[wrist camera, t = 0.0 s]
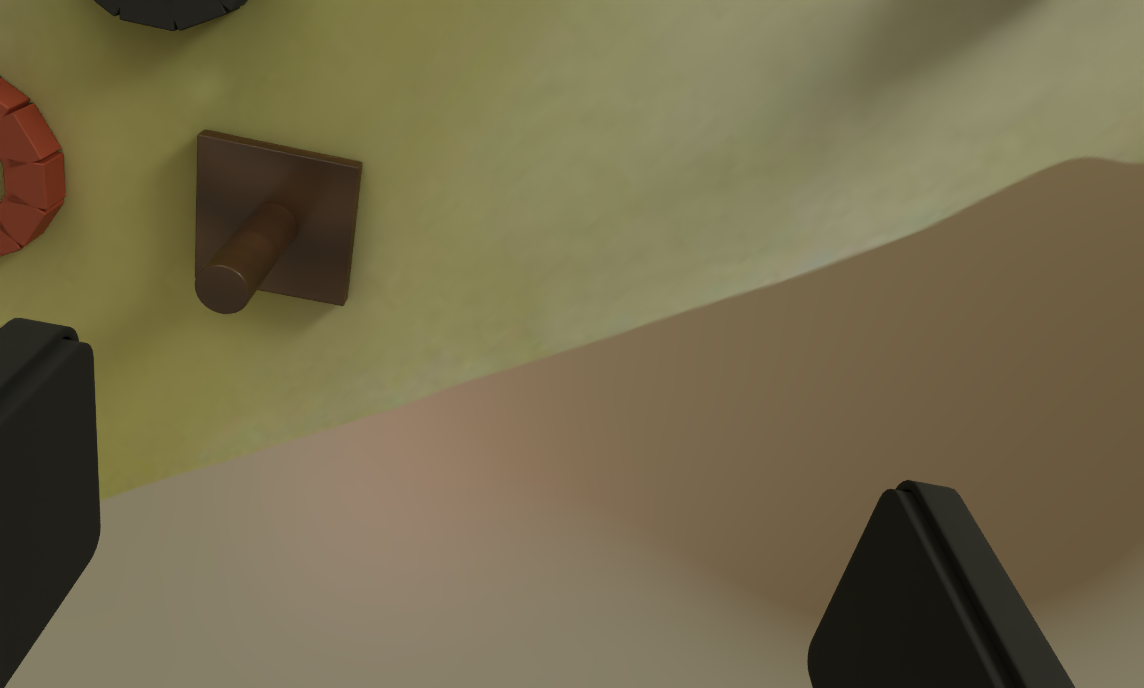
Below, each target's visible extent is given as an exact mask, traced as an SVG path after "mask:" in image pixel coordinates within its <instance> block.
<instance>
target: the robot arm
mask: <svg viewBox="0 0 1144 688" xmlns="http://www.w3.org/2000/svg"><path fill="white" fill-rule="evenodd" d="M99 536H100V502H99V478H98V454H97V429H96V405H95V381H94V357H93V350H92V348H91V346H90V345H89V344H87V343H83V342H79V339H78V335H77V333H76V331H75V330H74V329H73V328H71V327H67V326H62V325H56V324H51V323H45V322H40V321H35V320H29V319H24V318H14V319H12V320H10V321H9V322H7V323H6V324H5V325H4V326H2V327H1V328H0V688H4V687H5V686H6V684H7V683H8V681H9V680H10V678H11V677H12V675H13V674H14V672H15V671H16V669H17V668H18V666H19V665H20V664H21V662H22V661H23V659H24V658H25V656H26V655H27V653H28V652H29V650H30V649H31V647H32V646H33V644H34V643H35V641H36V640H37V639H38V637H39V635H40V634H41V632H42V631H43V630H44V628H45V627H46V625H47V624H48V622H49V621H50V619H51V618H52V616H53V615H54V613H55V612H56V610H57V609H58V608H59V606H60V605H61V603H62V602H63V600H64V599H65V597H66V596H67V594H68V593H69V591H70V590H71V588H72V587H73V585H74V584H75V583H76V581H77V580H78V578H79V577H80V575H81V573H82V572H83V571H84V569H85V568H86V566H87V565H88V563H89V562H90V560H91V558H92V557H93V555H94V552H95V550H96V548H97V544H98V541H99ZM808 671H809V676H810V679H811V683H812V686H813V688H1075V686H1074V685H1073V683H1072V681H1071V680H1070V678H1069V676H1068V675H1067V673H1066V671H1065V670H1064V668H1063V666H1062V665H1061V663H1060V661H1059V660H1058V658H1057V656H1056V655H1055V653H1054V651H1053V650H1052V648H1051V646H1050V645H1049V643H1048V641H1047V640H1046V638H1045V636H1044V635H1043V633H1042V631H1041V630H1040V628H1039V627H1038V625H1037V623H1036V621H1035V620H1034V618H1033V617H1032V615H1031V613H1030V611H1029V610H1028V608H1027V606H1026V605H1025V603H1024V602H1023V600H1022V598H1021V596H1020V595H1019V593H1018V591H1017V590H1016V588H1015V587H1014V585H1013V583H1012V581H1011V580H1010V578H1009V577H1008V575H1007V573H1006V572H1005V570H1004V568H1003V567H1002V565H1001V563H1000V562H999V560H998V558H997V557H996V555H995V553H994V552H993V550H992V548H991V547H990V545H989V543H988V542H987V540H986V539H985V537H984V535H983V534H982V532H981V530H980V528H979V527H978V525H977V523H976V522H975V520H974V518H973V517H972V515H971V513H970V512H969V510H968V508H967V507H966V505H965V504H964V502H963V500H962V498H961V497H960V495H959V494H958V493H957V492H956V491H955V490H954V489H951V488H949V487H944V486H938V485H932V484H927V483H922V482H916V481H910V480H907V481H903V482H902V483H900V484H899V485H898V486H897V488H896V489H895V490H894V489H888V490H886V491H885V492H884V493H883V494H882V496H881V497H880V499H879V501H878V503H877V505H876V507H875V509H874V511H873V513H872V516H871V517H870V520H869V522H868V524H867V526H866V528H865V530H864V532H863V534H862V536H861V538H860V540H859V543H858V545H857V547H856V549H855V551H854V553H853V555H852V557H851V559H850V562H849V564H848V566H847V568H846V570H845V572H844V574H843V576H842V578H841V580H840V582H839V585H838V586H837V588H836V591H835V593H834V595H833V597H832V599H831V601H830V603H829V605H828V607H827V609H826V611H825V614H824V616H823V618H822V620H821V622H820V624H819V626H818V628H817V630H816V633H815V635H814V636H813V639H812V641H811V644H810V646H809V651H808Z"/></svg>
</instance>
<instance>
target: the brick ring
mask: <svg viewBox="0 0 1144 688" xmlns="http://www.w3.org/2000/svg"><path fill="white" fill-rule="evenodd" d="M29 100H30V99H29V98H28V97H27V96H26V95H24V94H23V93H22V92H20V91H19V90H17V89H16V88H15V87H13V86H12V85H11V84H9V83H8V82H6V81H5V80H4V79H2V78H1V77H0V160H1V162H2V163H3V171H4V183H5V196H4V198H3V199H2V201H1V202H0V256H2V255H6V254H9V253H12V252H15V251H18V250H21V249H22V248H23V247H25V246H26V245H27V244H29V243H30V242H32V241H33V240H34V239H36V238H37V237H39V236H40V235H41V234H42V233H44V231H45V230H46V228H47V227H48V225H49V224H50V222H51V221H52V219H53V218H54V216H55V215H56V213H57V212H58V210H59V209H60V207H61V206H62V204H63V203H64V201H63V200H62V199H63V198H65V177H64V159H63V153H60V152H56V151H58V150H60V149H61V147H60V145H59V143H58V142H57V140H56V138H55V137H54V135H53V133H52V132H51V130H50V128H49V127H48V125H47V123H46V122H45V120H44V118H43V117H42V115H41V113H40V112H39V110H38V108H37V107H36V105H35V104H33V103H32V104H29V105H27V103H28V102H29ZM26 105H27V106H26Z"/></svg>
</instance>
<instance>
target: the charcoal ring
mask: <svg viewBox="0 0 1144 688" xmlns="http://www.w3.org/2000/svg"><path fill="white" fill-rule="evenodd" d="M94 1H95V2H96V3H98V4H99V5H100V6H101V7H103V8H104V9H105V10H107V11H108V12H109V13H110V14H112V15H113V16H117V15H120V19H121V20H124V21H129V22H134V23H138V24H143V25H147V26H152V27H157V28H161V29H166V30H170V31H175V30H177V29H179V30H180V31H181V30H184V29H187V28H189V27H192V26H195V25H198V24H201V23H203V22H206V21H209V20H212V19H215V18H217V17H220V16H223V15H226V14H228V13H230V12H232V11H234V10H236V9H239V8H240V6H242V5H244V4H245V3H246V1H247V0H94Z"/></svg>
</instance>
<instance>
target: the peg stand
mask: <svg viewBox="0 0 1144 688" xmlns="http://www.w3.org/2000/svg"><path fill="white" fill-rule="evenodd" d="M361 171H362V162H359V161H354V160H349V159H344V158H340V157H335V156H330V155H325V154H320V153H315V152H311V151H306V150H301V149H296V148H291V147H286V146H282V145H277V144H272V143H267V142H262V141H257V140H253V139H248V138H243V137H238V136H233V135H229V134H224V133H219V132H214V131H209V130H203V131H202V132H201V133H200V134H198V145H197V197H196V249H195V278H196V280H195V290H196V294H197V296H198V298H199V299H200V301H201V302H202V303H203V304H204V305H205V306H206V307H208V308H209V309H211V310H213V311H215V312H218V313H222V314H231V313H235V312H238V311H240V310H242V309H243V308H244V307H245V306H246V305H247V303H248V302H249V300H250V299H251V298H252V296H253V295H254V293H255V292H256V291H257V290H261V291H267V292H272V293H277V294H282V295H288V296H293V297H298V298H303V299H309V300H314V301H319V302H324V303H330V304H335V305H340V306H344V304H345V302H346V300H347V298H348V290H349V281H350V272H351V263H352V253H353V244H354V235H355V226H356V217H357V208H358V199H359V189H360V180H361Z"/></svg>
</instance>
